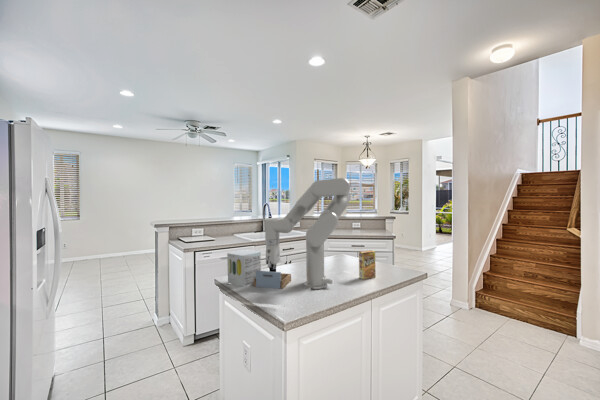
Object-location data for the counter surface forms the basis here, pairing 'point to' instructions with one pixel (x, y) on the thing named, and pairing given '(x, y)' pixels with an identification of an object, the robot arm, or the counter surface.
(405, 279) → the counter surface
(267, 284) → the panel
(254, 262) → the supplement box
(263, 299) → the counter surface
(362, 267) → the candy box
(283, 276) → the crate
